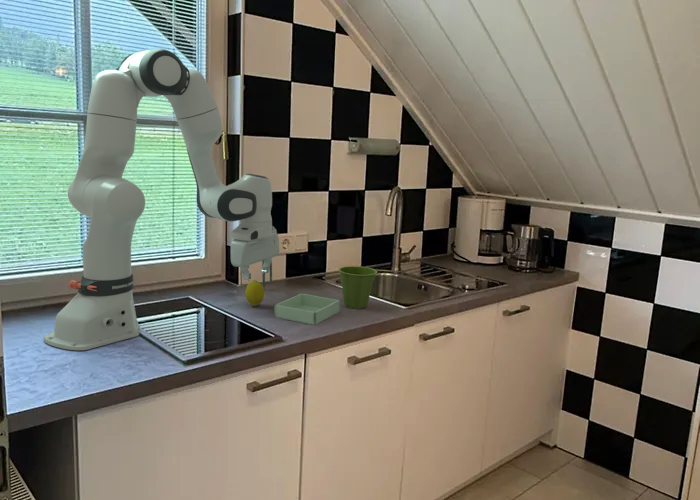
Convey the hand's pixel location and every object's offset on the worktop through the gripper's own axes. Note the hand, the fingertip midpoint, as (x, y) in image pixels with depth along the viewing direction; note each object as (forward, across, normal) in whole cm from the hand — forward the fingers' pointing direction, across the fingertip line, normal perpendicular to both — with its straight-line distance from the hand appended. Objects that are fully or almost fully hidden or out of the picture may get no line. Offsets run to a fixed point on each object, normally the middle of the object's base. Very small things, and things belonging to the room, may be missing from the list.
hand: (256, 276), depth 175 cm
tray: (+9, -1, +17) cm, 19 cm away
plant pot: (+10, -17, +25) cm, 32 cm away
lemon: (+9, +1, 0) cm, 9 cm away
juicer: (+10, -19, -14) cm, 26 cm away
